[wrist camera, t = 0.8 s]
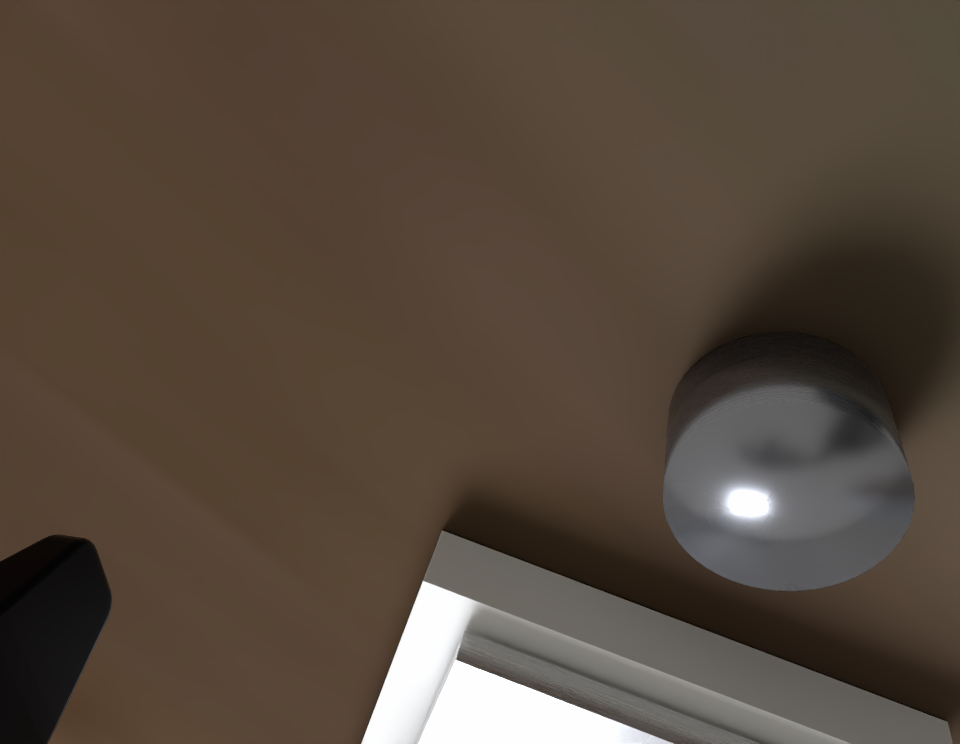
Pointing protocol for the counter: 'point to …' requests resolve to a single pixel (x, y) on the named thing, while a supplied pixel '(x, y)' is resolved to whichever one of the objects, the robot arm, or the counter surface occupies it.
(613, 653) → the scale
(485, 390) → the counter surface
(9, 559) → the robot arm
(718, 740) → the pan
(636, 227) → the counter surface
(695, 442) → the steel cup
